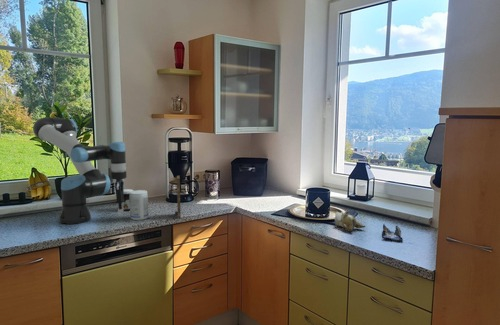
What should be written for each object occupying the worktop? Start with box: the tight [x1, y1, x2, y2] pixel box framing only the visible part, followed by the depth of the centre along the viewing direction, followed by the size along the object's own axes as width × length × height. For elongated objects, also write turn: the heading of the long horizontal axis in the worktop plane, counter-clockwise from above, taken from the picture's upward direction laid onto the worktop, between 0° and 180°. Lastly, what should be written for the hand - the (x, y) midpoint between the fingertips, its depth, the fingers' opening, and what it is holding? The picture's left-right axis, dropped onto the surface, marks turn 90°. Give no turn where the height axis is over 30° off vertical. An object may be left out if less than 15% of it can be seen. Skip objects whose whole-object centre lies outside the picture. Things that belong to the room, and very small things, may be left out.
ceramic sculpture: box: [334, 210, 366, 232], centre depth 183 cm, size 11×9×15 cm
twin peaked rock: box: [381, 223, 403, 243], centre depth 169 cm, size 12×7×12 cm
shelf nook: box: [169, 175, 182, 220], centre depth 204 cm, size 5×10×22 cm, turn 11°
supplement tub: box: [129, 189, 150, 221], centre depth 200 cm, size 10×10×15 cm
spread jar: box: [123, 188, 134, 212], centre depth 221 cm, size 12×11×12 cm
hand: (121, 214), depth 199 cm, fingers closed
